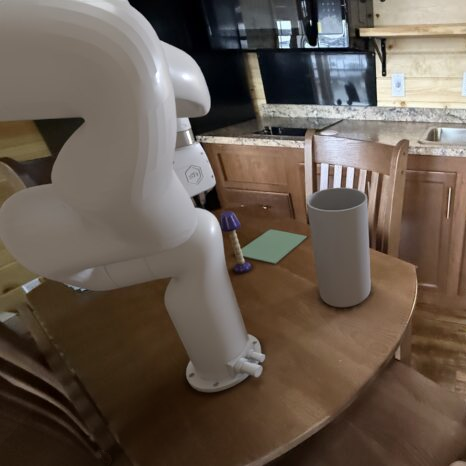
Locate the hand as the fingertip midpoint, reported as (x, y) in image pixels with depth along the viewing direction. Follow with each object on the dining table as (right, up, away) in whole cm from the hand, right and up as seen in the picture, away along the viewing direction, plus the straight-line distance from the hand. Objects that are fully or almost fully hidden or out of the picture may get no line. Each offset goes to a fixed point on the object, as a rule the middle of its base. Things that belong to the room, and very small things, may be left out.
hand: (200, 221), depth 71 cm
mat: (+6, -7, +25) cm, 27 cm away
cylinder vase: (+32, -17, +7) cm, 37 cm away
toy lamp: (+2, -12, +15) cm, 20 cm away
